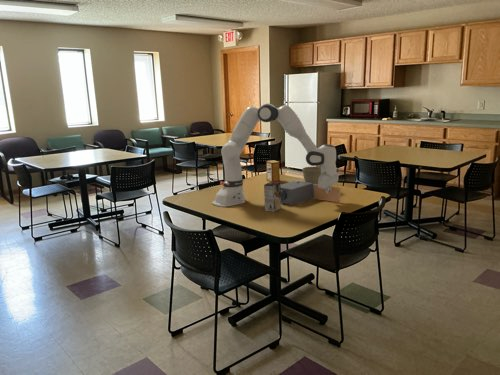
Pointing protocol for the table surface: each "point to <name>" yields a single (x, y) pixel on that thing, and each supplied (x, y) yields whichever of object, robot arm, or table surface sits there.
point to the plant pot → (311, 174)
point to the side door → (322, 194)
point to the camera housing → (296, 192)
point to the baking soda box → (272, 171)
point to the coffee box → (272, 196)
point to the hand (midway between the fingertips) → (328, 192)
